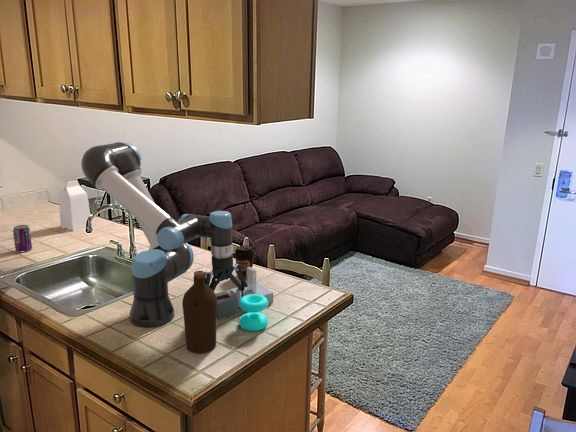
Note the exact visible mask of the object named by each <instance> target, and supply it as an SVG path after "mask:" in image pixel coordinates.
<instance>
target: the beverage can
mask: <svg viewBox="0 0 576 432" xmlns="http://www.w3.org/2000/svg"><path fill="white" fill-rule="evenodd" d="M30 229H31V228H30V227H29V225H27V224H19V225H15V226H14V227H13V231H12V234H13V242H14V246H15V247H14V248H15V251H16V252H18V251H20V252H19V253H22V252H21V251H27V252H29V251H31V250H32V249H33V243H32V234H31V230H30ZM28 250H29V251H28Z"/></svg>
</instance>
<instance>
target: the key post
mask: <svg viewBox="0 0 576 432" xmlns="http://www.w3.org/2000/svg"><path fill="white" fill-rule="evenodd" d="M246 282H247V285H248V286H247V290H248V291H250V292H251V293H256V283H257V269H255V268H253V267H252V268H251V267H248V268H247V278H246Z"/></svg>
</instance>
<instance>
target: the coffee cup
mask: <svg viewBox="0 0 576 432" xmlns="http://www.w3.org/2000/svg"><path fill="white" fill-rule="evenodd" d="M235 248H236V249H235V250H234V257H235V264H236V263H237V264H239V265H241V271H242V273H243V276H244V278H245V279H247V268H248V267H251V268H253V266H254V256H255V249H254V247H253V246H252V245H238V246H236V247H235Z"/></svg>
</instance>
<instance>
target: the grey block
mask: <svg viewBox="0 0 576 432" xmlns="http://www.w3.org/2000/svg"><path fill="white" fill-rule="evenodd" d="M215 294H216V297H217V320H219V321H220V320H221V319H225V318H228V317H231V316H233V315H237V314H238V312H239V311H238V308H239V307H238V300H237V298H236V297H235V296H233V295H232V294H230V291H227V290H223V291H219V292H216V293H215Z"/></svg>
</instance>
